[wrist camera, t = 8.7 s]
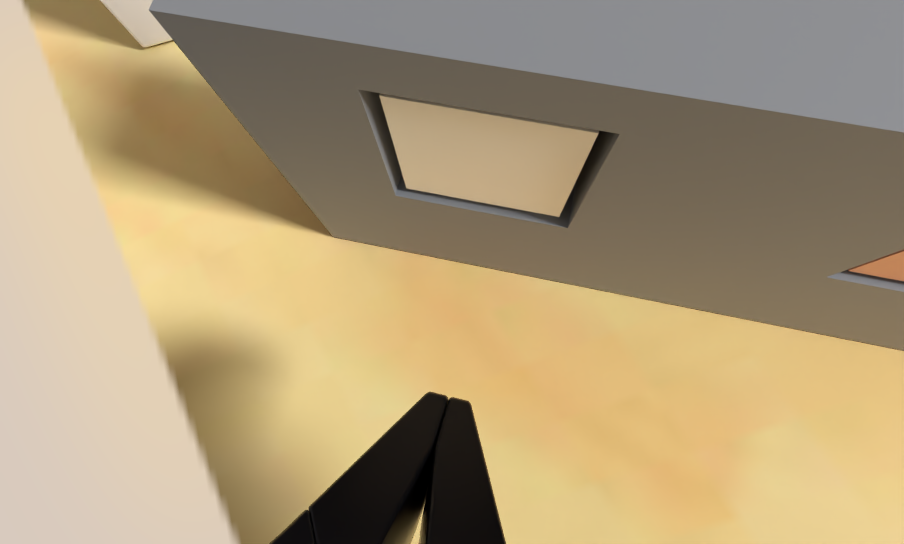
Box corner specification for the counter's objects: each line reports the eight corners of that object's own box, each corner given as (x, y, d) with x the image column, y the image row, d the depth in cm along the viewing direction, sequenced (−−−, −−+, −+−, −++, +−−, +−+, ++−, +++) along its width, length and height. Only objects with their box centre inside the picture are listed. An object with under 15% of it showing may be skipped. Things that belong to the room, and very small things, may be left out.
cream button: (558, 216, 13) (598, 133, 9) (406, 188, 13) (379, 95, 9) (570, 153, 13) (612, 47, 9) (421, 128, 13) (402, 14, 9)
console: (962, 362, 17) (1842, 284, 6) (333, 236, 18) (148, 10, 8) (956, 224, 18) (1675, -44, 7) (367, 120, 20) (247, -212, 9)
